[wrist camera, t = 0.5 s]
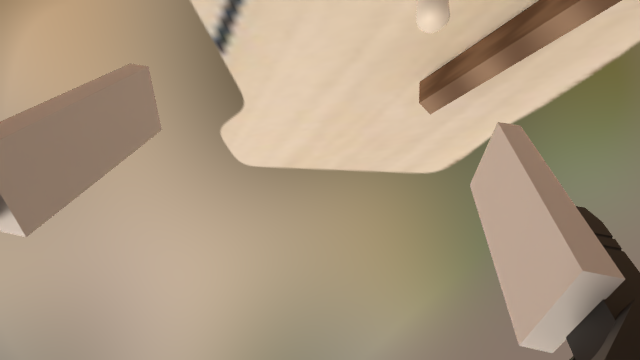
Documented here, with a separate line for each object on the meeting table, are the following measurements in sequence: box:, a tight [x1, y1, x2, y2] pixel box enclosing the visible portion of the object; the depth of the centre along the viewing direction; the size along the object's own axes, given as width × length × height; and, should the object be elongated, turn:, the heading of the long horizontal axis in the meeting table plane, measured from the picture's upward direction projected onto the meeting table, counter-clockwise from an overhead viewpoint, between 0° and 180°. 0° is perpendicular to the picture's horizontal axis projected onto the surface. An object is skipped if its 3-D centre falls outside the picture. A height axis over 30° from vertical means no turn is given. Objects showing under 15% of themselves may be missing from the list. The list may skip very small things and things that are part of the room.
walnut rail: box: [419, 0, 622, 114], centre depth 32 cm, size 20×2×4 cm, turn 139°
